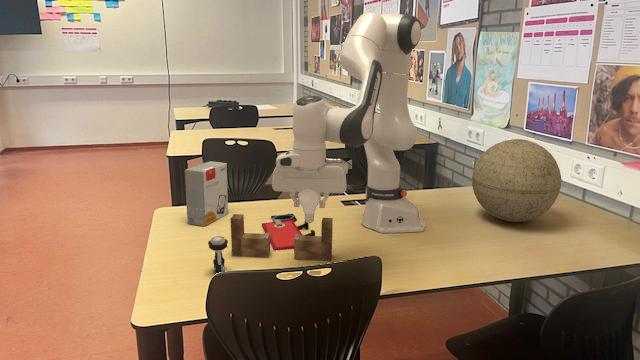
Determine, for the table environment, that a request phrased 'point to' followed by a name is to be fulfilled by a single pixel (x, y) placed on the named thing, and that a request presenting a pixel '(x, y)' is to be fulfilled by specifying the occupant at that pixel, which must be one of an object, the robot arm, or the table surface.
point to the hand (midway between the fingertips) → (309, 206)
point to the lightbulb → (309, 203)
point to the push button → (218, 252)
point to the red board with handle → (284, 231)
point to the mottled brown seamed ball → (516, 180)
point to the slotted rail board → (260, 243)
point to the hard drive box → (206, 193)
